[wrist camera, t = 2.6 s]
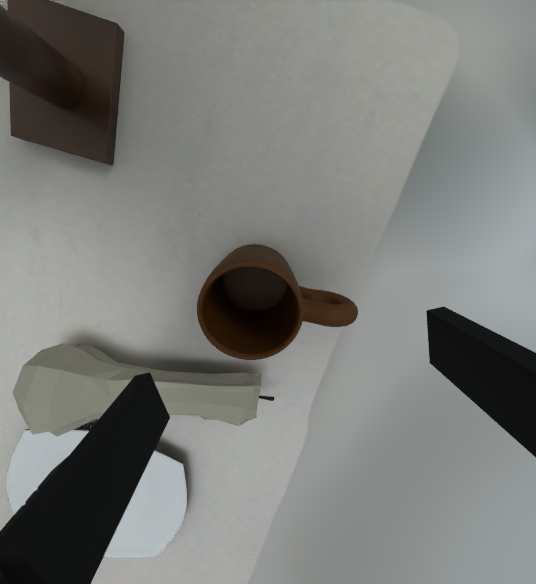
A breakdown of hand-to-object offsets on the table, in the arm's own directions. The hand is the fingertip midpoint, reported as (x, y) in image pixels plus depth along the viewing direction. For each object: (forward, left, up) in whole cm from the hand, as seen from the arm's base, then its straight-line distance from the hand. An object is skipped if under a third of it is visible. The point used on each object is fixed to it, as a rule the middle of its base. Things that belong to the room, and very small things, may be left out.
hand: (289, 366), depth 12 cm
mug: (0, 0, -15) cm, 15 cm away
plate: (+29, +23, -15) cm, 40 cm away
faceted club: (+15, +8, -15) cm, 23 cm away
